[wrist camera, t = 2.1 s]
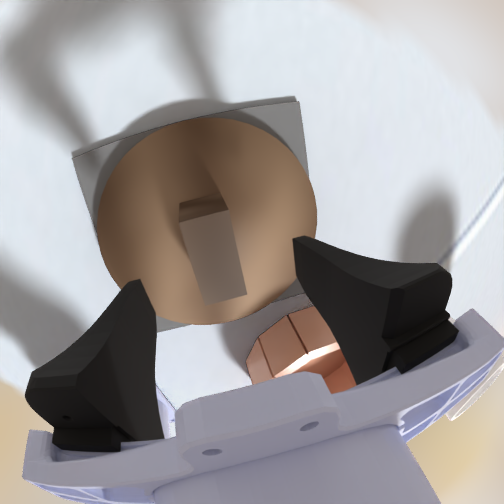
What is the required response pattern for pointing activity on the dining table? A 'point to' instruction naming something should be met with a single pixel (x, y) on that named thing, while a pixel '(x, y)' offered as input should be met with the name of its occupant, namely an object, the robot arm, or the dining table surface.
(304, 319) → the bowl
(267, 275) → the lid
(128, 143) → the mat
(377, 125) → the dining table surface
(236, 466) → the robot arm
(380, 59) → the dining table surface
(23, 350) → the dining table surface
